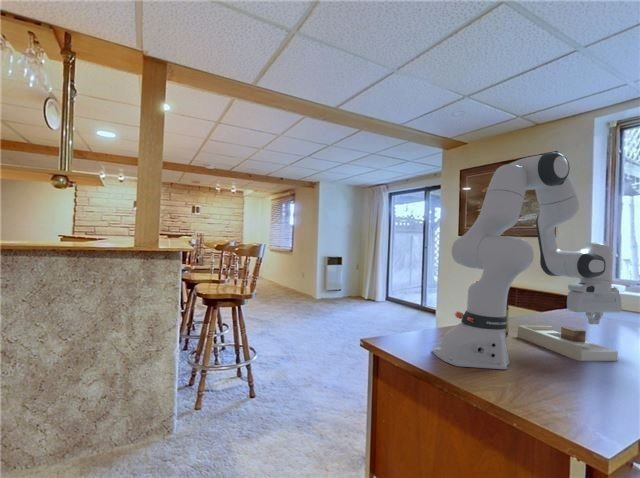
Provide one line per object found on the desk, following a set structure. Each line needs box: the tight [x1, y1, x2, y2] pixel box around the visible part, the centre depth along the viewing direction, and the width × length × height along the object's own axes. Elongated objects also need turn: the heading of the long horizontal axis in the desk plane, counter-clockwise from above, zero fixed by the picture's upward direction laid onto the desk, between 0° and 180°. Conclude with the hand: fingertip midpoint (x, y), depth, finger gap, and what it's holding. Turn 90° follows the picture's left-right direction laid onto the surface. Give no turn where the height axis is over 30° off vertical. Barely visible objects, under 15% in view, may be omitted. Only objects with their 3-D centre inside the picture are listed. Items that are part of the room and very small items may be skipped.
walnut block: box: [560, 326, 587, 342], centre depth 119 cm, size 5×5×4 cm
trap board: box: [517, 325, 619, 362], centre depth 119 cm, size 15×26×4 cm, turn 9°
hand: (593, 324), depth 120 cm, fingers closed
